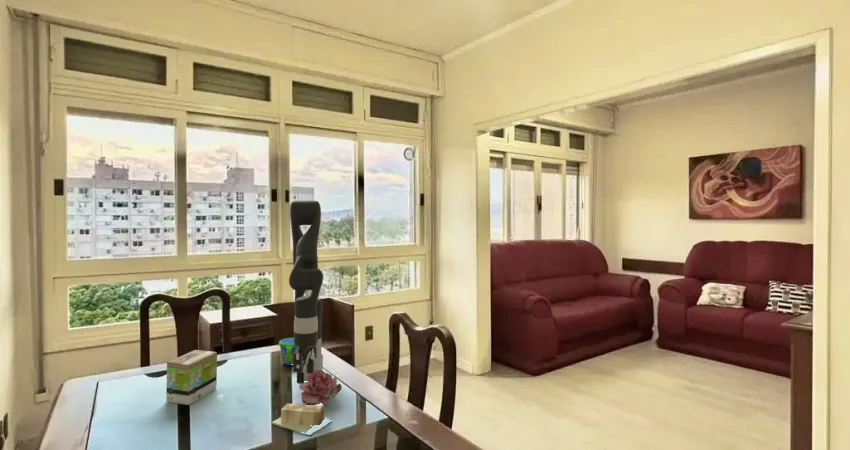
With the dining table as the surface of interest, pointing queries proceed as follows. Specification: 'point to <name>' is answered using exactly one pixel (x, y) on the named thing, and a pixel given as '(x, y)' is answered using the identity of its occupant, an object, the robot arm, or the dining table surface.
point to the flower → (319, 388)
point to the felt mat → (292, 426)
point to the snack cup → (288, 350)
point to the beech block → (302, 414)
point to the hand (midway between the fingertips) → (305, 377)
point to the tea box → (191, 376)
